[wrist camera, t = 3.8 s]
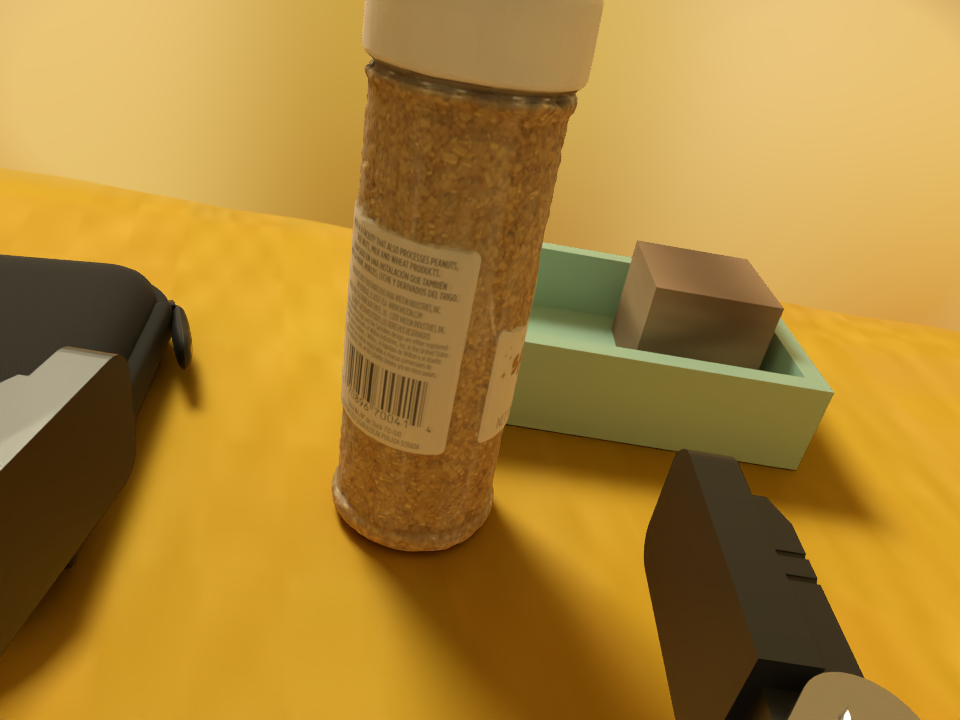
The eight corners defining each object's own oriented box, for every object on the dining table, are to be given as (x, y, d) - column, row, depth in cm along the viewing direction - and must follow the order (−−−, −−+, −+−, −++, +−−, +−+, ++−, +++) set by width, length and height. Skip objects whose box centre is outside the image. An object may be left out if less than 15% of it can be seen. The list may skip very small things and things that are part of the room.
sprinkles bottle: (522, 523, 20) (659, -8, 14) (381, 585, 18) (466, -39, 11) (431, 433, 23) (507, -40, 16) (298, 474, 20) (325, -72, 14)
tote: (373, 402, 24) (382, 318, 22) (408, 289, 32) (416, 220, 30) (796, 470, 25) (834, 392, 23) (727, 342, 33) (752, 278, 31)
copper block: (625, 384, 27) (656, 287, 25) (611, 329, 31) (636, 240, 29) (743, 404, 27) (784, 308, 25) (714, 346, 31) (747, 259, 29)
